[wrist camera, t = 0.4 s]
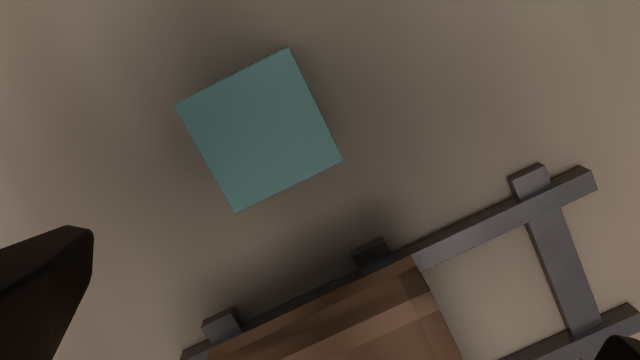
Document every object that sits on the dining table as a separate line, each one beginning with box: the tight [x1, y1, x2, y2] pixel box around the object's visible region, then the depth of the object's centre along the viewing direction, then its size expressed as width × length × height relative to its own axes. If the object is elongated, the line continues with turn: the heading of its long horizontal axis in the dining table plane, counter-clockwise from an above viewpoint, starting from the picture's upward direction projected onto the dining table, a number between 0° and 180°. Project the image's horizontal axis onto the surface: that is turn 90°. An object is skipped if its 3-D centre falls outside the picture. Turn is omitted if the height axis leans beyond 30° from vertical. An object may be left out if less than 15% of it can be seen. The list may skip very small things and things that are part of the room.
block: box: [173, 45, 344, 214], centre depth 21 cm, size 4×4×4 cm
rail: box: [180, 163, 640, 360], centre depth 26 cm, size 21×11×1 cm, turn 116°
